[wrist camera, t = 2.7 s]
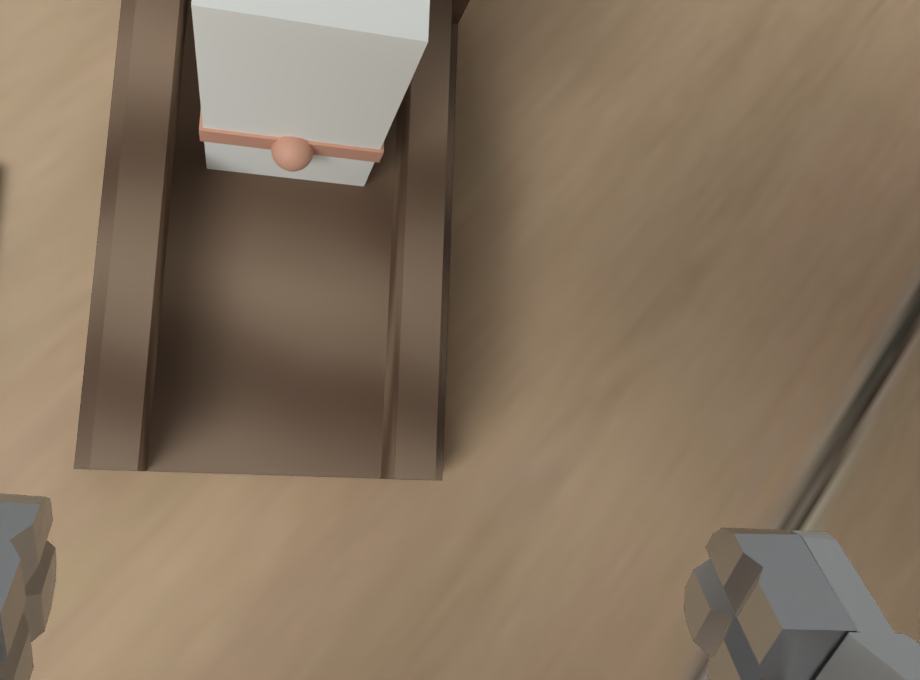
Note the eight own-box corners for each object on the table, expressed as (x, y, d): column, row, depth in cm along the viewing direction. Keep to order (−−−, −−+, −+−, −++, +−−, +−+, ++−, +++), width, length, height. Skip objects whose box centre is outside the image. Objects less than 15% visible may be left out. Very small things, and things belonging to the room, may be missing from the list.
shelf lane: (432, 480, 29) (466, 481, 25) (82, 468, 27) (53, 468, 22) (449, 13, 32) (481, -58, 28) (133, -38, 29) (116, -126, 25)
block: (365, 209, 29) (431, 76, 19) (201, 192, 27) (183, 40, 18) (374, 43, 29) (440, -165, 20) (215, 18, 28) (205, -216, 19)
